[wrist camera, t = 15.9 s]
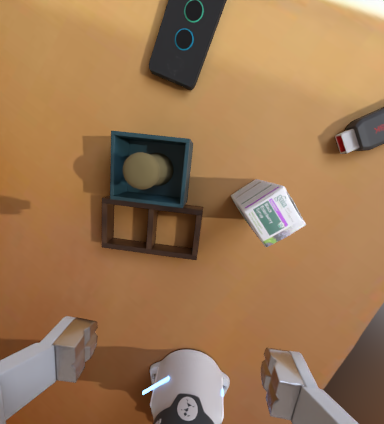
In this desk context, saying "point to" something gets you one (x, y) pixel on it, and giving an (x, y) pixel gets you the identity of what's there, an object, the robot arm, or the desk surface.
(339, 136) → the usb drive
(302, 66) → the desk surface
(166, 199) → the bin
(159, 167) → the olive pepper mill
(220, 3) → the smart home device
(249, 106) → the desk surface
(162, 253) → the holder
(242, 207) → the syrup box
